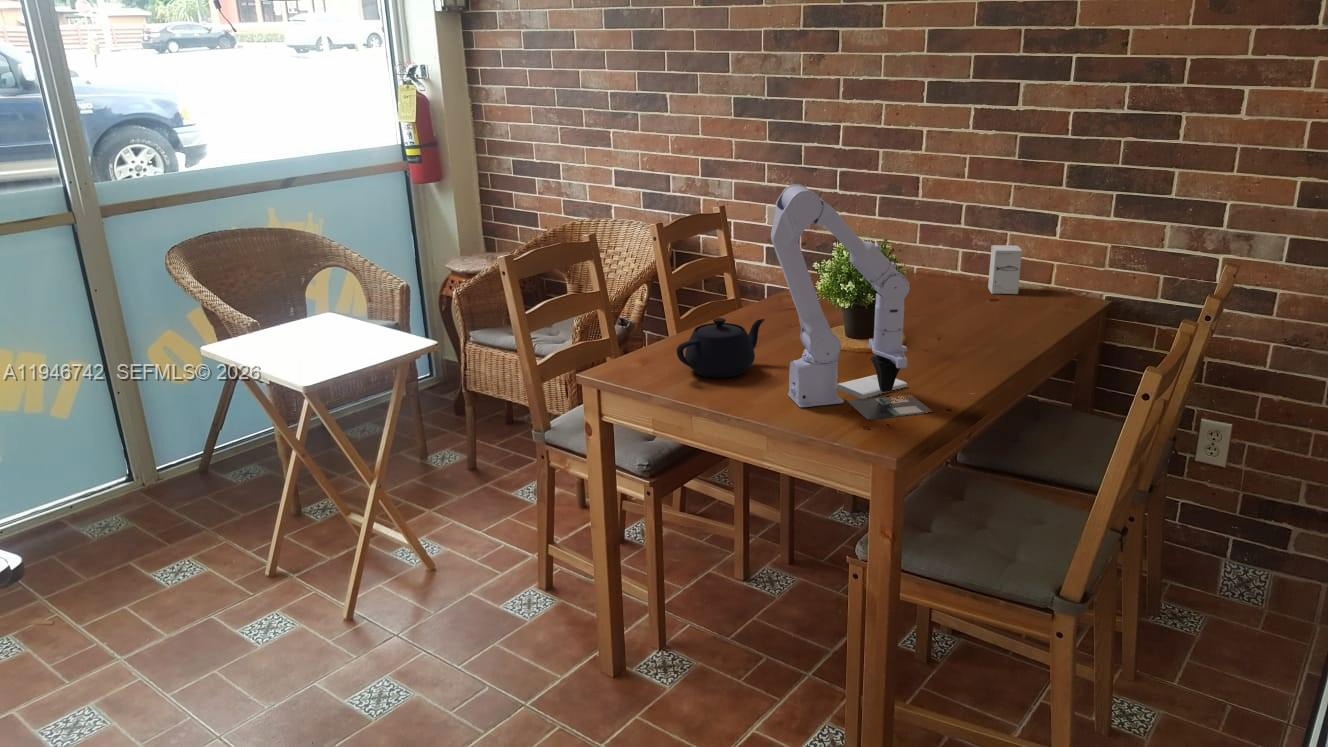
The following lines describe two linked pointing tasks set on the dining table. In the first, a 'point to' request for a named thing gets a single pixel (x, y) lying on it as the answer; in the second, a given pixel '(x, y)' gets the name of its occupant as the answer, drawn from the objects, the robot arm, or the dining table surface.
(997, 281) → the supplement box
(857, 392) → the external hard drive
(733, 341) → the teapot
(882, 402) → the bay plate
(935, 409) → the dining table surface
